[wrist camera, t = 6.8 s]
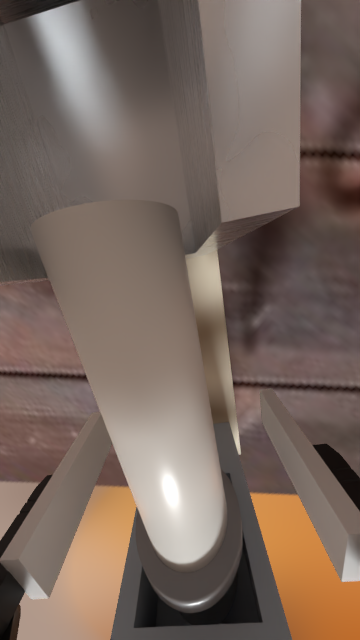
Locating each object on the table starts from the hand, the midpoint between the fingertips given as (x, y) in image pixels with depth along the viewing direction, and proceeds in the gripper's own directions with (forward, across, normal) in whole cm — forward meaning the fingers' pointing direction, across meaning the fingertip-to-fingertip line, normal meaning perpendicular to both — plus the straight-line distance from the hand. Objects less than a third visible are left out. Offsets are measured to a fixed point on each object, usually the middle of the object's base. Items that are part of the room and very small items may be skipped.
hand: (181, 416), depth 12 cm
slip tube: (-1, 0, +2) cm, 3 cm away
